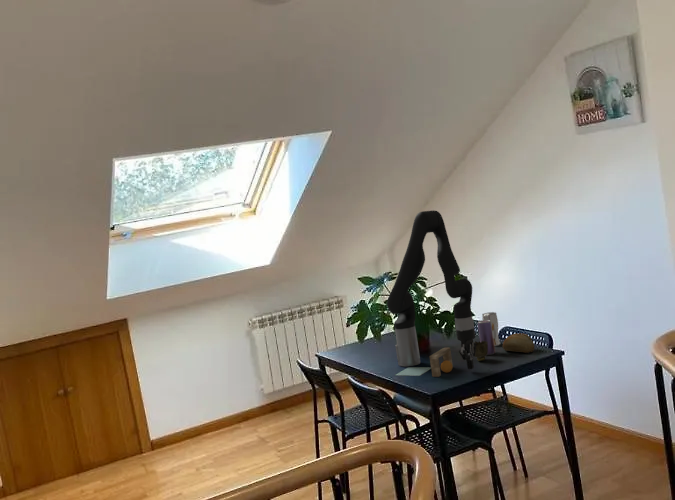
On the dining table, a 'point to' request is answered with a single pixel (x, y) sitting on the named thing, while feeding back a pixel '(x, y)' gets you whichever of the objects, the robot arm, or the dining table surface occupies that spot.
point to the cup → (481, 350)
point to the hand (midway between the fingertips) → (470, 368)
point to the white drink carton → (493, 325)
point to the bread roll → (518, 343)
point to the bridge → (435, 360)
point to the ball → (446, 366)
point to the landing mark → (413, 371)
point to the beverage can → (486, 335)
